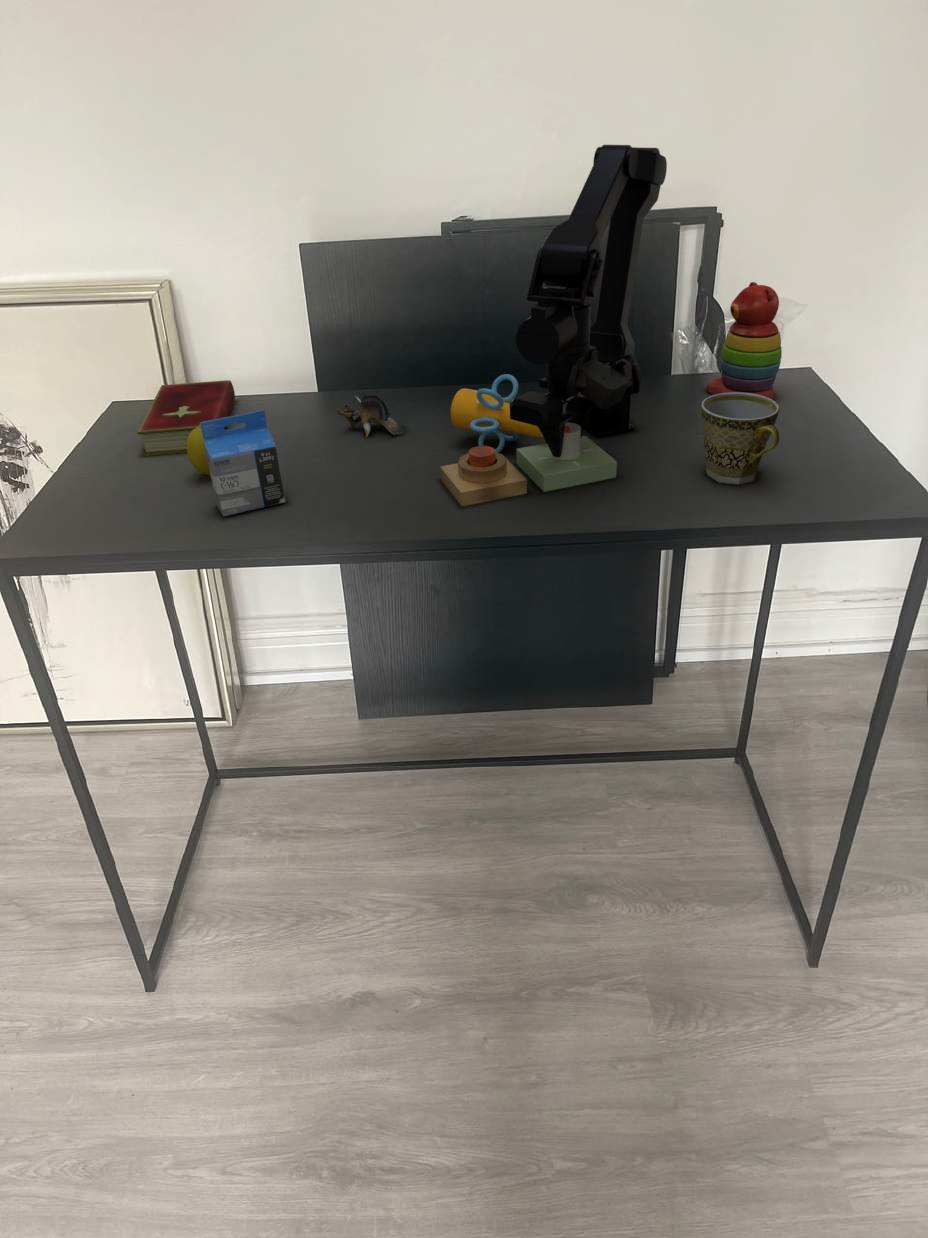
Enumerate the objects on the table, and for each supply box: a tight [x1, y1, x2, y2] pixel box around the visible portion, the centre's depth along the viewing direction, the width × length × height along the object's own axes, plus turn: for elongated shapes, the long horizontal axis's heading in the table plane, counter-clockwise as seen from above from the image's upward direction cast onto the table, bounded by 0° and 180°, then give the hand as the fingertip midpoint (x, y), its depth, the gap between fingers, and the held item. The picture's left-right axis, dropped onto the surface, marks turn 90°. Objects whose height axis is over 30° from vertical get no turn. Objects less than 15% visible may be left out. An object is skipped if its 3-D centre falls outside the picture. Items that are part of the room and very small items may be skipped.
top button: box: [468, 445, 496, 467], centre depth 124 cm, size 4×4×2 cm
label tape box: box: [200, 410, 286, 517], centre depth 121 cm, size 9×4×12 cm, turn 114°
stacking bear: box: [706, 281, 783, 400], centre depth 145 cm, size 11×10×18 cm
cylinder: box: [450, 373, 544, 454], centre depth 134 cm, size 12×10×15 cm
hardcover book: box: [137, 379, 236, 457], centre depth 149 cm, size 12×21×4 cm, turn 6°
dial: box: [552, 422, 581, 460], centre depth 127 cm, size 4×4×4 cm
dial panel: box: [515, 435, 618, 493], centre depth 129 cm, size 11×10×3 cm
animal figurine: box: [335, 394, 404, 438], centre depth 143 cm, size 8×7×9 cm
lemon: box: [186, 425, 211, 477], centre depth 131 cm, size 6×6×8 cm
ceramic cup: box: [701, 392, 780, 485], centre depth 122 cm, size 13×10×10 cm
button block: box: [439, 452, 528, 507], centre depth 125 cm, size 10×9×4 cm
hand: (565, 451), depth 128 cm, fingers closed on dial, 4 cm apart
